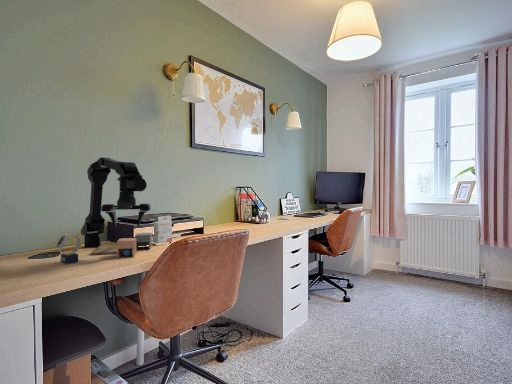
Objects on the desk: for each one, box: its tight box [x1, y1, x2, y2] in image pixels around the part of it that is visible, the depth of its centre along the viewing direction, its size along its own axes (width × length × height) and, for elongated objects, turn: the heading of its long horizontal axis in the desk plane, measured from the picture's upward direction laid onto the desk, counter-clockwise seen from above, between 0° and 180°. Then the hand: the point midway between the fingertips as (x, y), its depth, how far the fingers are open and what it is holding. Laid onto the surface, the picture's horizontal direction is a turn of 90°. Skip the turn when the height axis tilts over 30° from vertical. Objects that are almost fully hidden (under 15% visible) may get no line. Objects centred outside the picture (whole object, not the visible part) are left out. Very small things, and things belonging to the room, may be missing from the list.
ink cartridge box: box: [152, 215, 173, 244], centre depth 150 cm, size 9×5×15 cm, turn 143°
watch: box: [56, 233, 82, 265], centre depth 113 cm, size 6×8×11 cm
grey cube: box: [134, 232, 153, 250], centre depth 139 cm, size 7×7×7 cm
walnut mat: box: [89, 246, 117, 256], centre depth 131 cm, size 11×11×1 cm
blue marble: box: [123, 248, 132, 257], centre depth 124 cm, size 3×3×3 cm
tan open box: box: [116, 237, 137, 259], centre depth 124 cm, size 7×7×7 cm
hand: (126, 227), depth 124 cm, fingers open, 9 cm apart
